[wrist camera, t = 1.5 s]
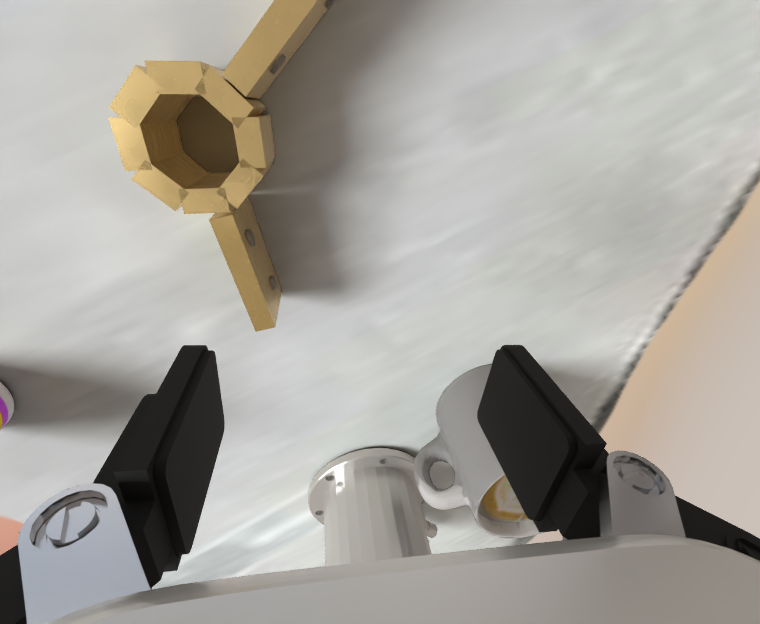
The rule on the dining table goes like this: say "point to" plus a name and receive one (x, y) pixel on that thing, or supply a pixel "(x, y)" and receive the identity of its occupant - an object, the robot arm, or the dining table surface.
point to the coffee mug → (470, 463)
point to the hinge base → (223, 91)
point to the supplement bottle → (5, 406)
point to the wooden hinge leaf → (249, 263)
